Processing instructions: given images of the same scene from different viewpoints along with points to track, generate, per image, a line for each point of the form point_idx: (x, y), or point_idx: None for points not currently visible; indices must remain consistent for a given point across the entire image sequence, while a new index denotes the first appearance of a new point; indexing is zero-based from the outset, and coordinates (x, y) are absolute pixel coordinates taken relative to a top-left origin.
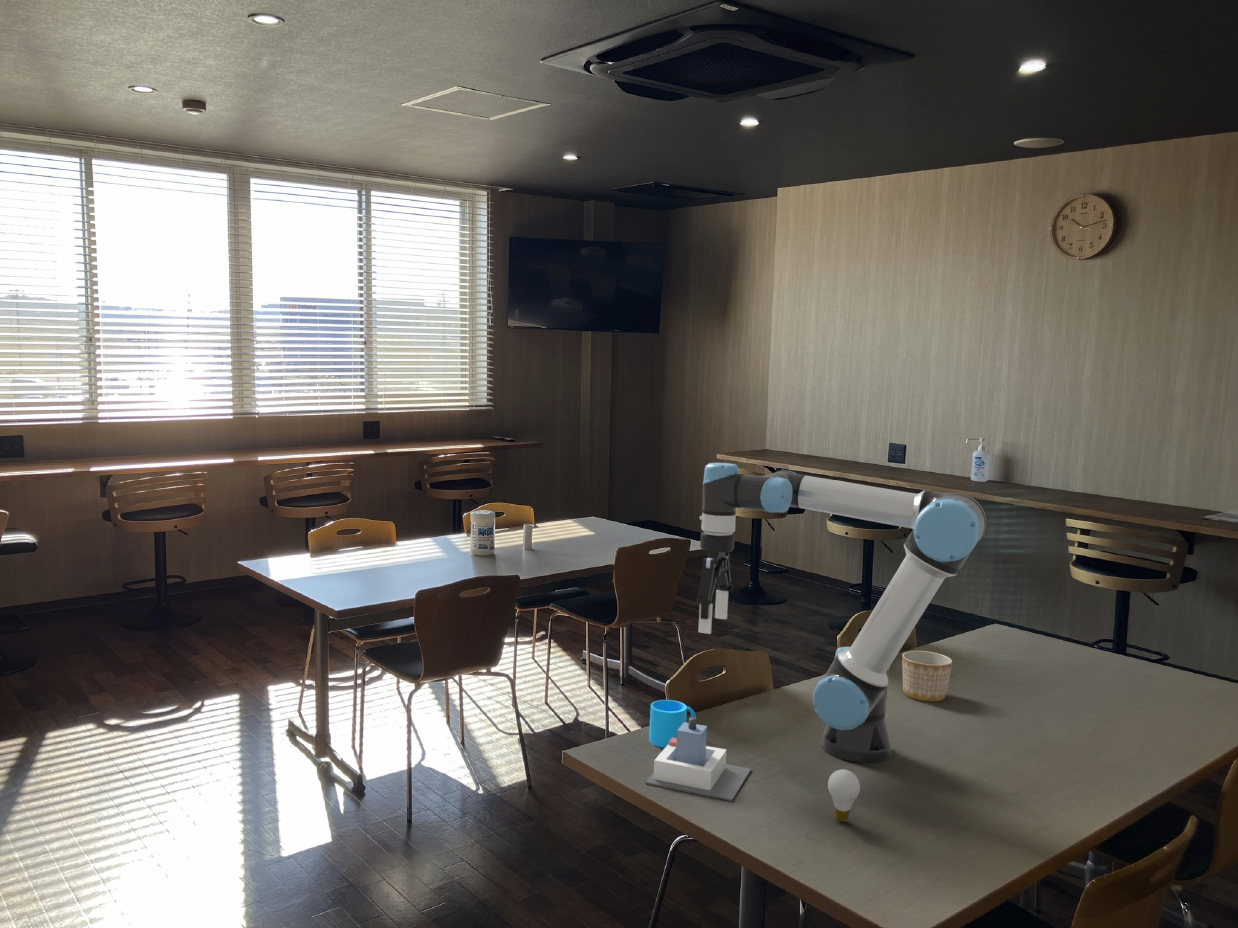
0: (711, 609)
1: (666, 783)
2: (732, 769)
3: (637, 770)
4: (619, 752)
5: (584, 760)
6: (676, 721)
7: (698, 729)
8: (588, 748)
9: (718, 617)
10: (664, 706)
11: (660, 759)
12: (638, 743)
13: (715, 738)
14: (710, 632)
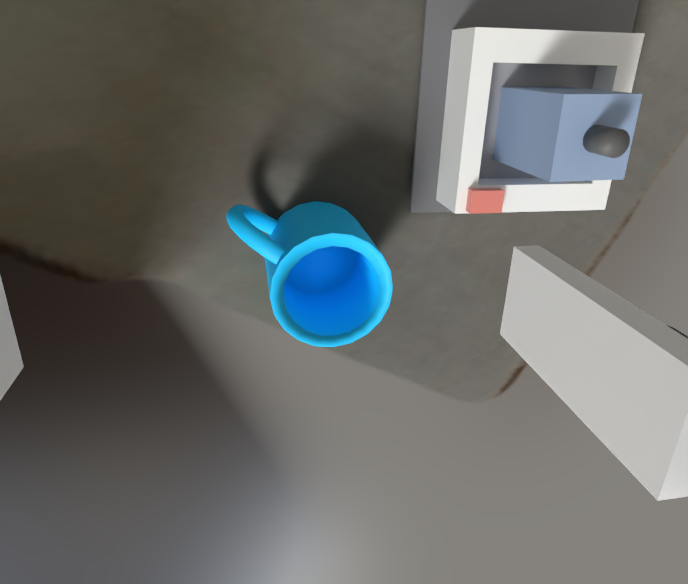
0: (685, 340)
1: None
2: (455, 5)
3: None
4: (439, 325)
5: (508, 369)
6: (369, 239)
7: (601, 114)
8: (443, 390)
9: (13, 340)
10: (291, 311)
11: (596, 196)
12: None
13: (227, 125)
14: (538, 248)
